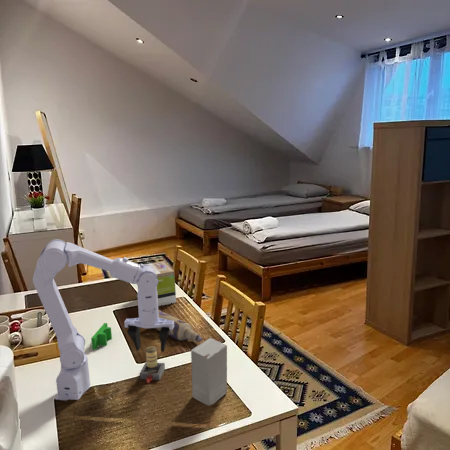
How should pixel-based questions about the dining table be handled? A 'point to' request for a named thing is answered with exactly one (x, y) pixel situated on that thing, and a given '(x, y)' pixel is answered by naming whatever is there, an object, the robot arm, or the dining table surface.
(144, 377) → the stand base
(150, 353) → the small wooden barrel
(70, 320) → the robot arm
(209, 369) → the skincare box
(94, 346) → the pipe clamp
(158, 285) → the tea box
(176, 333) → the decorative bottle
